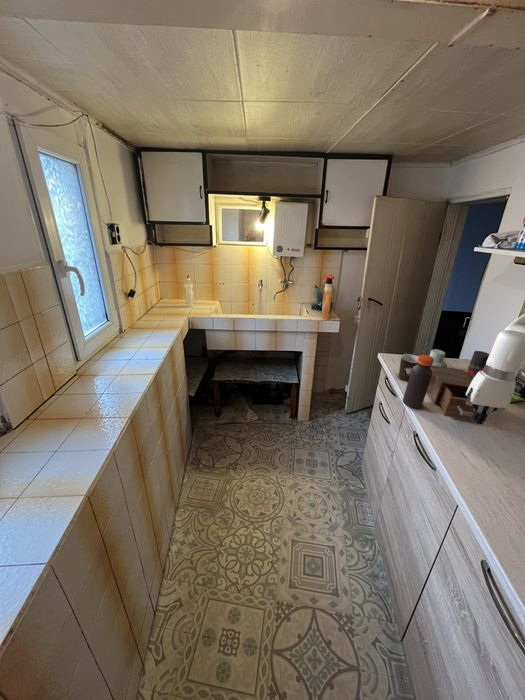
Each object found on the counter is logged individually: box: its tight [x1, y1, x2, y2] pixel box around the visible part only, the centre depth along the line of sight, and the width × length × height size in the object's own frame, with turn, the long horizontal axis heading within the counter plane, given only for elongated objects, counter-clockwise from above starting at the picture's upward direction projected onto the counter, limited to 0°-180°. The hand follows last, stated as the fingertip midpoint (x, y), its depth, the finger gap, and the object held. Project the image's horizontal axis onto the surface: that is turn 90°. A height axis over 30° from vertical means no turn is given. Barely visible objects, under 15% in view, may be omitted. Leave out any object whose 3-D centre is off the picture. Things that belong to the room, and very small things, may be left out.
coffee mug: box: [398, 353, 419, 383], centre depth 124 cm, size 12×9×10 cm
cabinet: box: [427, 366, 472, 406], centre depth 113 cm, size 15×13×10 cm
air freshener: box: [429, 348, 448, 368], centre depth 133 cm, size 11×8×10 cm
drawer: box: [438, 385, 475, 422], centre depth 102 cm, size 18×11×8 cm, turn 166°
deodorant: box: [465, 350, 490, 380], centre depth 121 cm, size 6×6×15 cm
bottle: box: [402, 354, 434, 409], centre depth 105 cm, size 7×7×20 cm
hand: (476, 421), depth 90 cm, fingers closed
